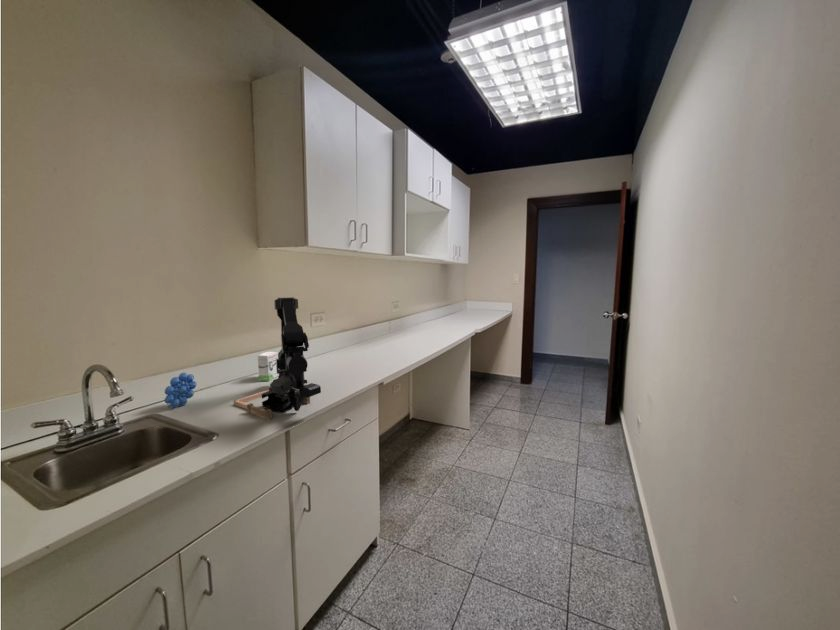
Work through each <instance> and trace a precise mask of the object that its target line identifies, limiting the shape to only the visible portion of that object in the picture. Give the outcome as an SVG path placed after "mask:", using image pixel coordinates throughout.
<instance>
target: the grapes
mask: <svg viewBox="0 0 840 630" xmlns="http://www.w3.org/2000/svg"><path fill="white" fill-rule="evenodd" d="M194 379H195V375H193V374H187V372H181V373H180V374H179V375H178V376H174V377H172V378H171V379H170V381H169V384H170V385H168V386H166V388H165V389H164V394H165V395H166V396H165V398H164V403H165V404H168V405H169V406H170V408H172V409H174V408H177V407H178V406H180V407H182V406H185V405H186V404H187V403H188V399H191V398H193V397H194V395H195V391H194V389H195V388H196V387H197V382H196V381H195V380H194Z"/></svg>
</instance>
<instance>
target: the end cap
mask: <svg viewBox="0 0 840 630" xmlns="http://www.w3.org/2000/svg"><path fill="white" fill-rule="evenodd" d="M268 390H269V391H268V392H265V393H263V394H262V397H261V399H264V398H267V399H266V400H263V401H261V404H262V407H263V408H262V409H265V410H267V409H270V410H271V412H273V413H279V414H284V413H287V412H288V411H290V410H292V409H294V407H293V405H292V402H291V400H290V398H289V396H288V395H286V394H285V393H284V394H282V395H279V394H277V393H273V390H272V388H271V387H269V388H268Z"/></svg>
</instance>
